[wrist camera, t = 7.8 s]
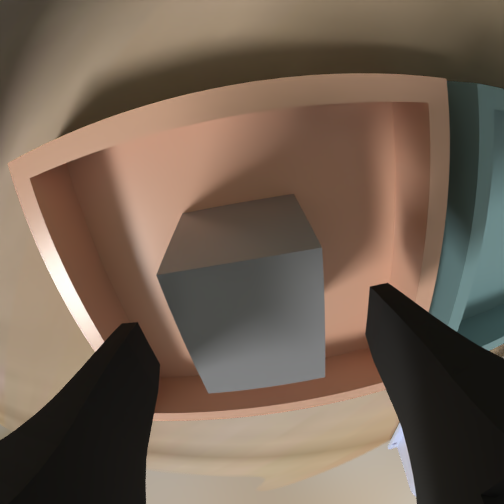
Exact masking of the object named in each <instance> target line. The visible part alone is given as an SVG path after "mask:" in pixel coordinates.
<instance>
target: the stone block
mask: <svg viewBox="0 0 504 504" xmlns="http://www.w3.org/2000/svg"><path fill="white" fill-rule="evenodd" d="M156 276H157V278H158V281H159V284H160V286H161V289H162V291H163V294H164V296H165V299H166V301H167V304H168V306H169V308H170V311H171V313H172V316H173V318H174V320H175V323H176V325H177V327H178V330H179V332H180V334H181V336H182V339H183V341H184V343H185V345H186V348H187V350H188V352H189V354H190V356H191V358H192V361H193V363H194V365H195V367H196V369H197V371H198V373H199V375H200V377H201V379H202V381H203V383H204V385H205V387H206V389H207V391H208V393H221V392H232V391H241V390H249V389H257V388H265V387H272V386H279V385H285V384H291V383H297V382H303V381H308V380H313V379H319V378H324V377H325V301H324V275H323V255H322V246H321V244H320V242H319V241H318V239H317V237H316V235H315V233H314V231H313V229H312V227H311V225H310V223H309V221H308V219H307V217H306V216H305V214H304V212H303V210H302V208H301V206H300V204H299V202H298V201H297V199H296V197H295V195H294V194H288V195H282V196H276V197H270V198H264V199H258V200H252V201H246V202H240V203H235V204H229V205H224V206H218V207H213V208H208V209H202V210H197V211H192V212H187V213H182V215H181V218H180V220H179V222H178V224H177V227H176V229H175V231H174V233H173V236H172V238H171V240H170V243H169V245H168V247H167V250H166V252H165V255H164V257H163V259H162V262H161V264H160V267H159V269H158V272H157V274H156Z"/></svg>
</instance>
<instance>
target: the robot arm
mask: <svg viewBox="0 0 504 504" xmlns="http://www.w3.org/2000/svg"><path fill="white" fill-rule="evenodd" d="M365 336H366V339H367V342H368V345H369V349H370V352H371V355H372V358H373V361H374V363H375V366H376V368H377V370H378V372H379V375H380V377H381V379H382V381H383V384H384V386H385V388H386V390H387V393H388V395H389V397H390V400H391V402H392V404H393V407H394V409H395V411H396V414H397V416H398V419H399V421H400V423H399V425H398V427H397V429H396V431H395V433H394V435H393V437H392V438H391V440H390V442H389V444H388V449H392V448H396V447H397V449H398V451H399V455H400V458H401V461H402V464H403V467H404V470H405V473H406V476H407V480H408V483H409V487H410V489H411V492H412V493H413V494H414V496H416V499H417V504H504V359H503V358H501V357H499V356H497V355H495V354H494V353H492V352H490V351H488V350H486V349H484V348H483V347H481V346H479V345H477V344H476V343H474V342H472V341H471V340H469V339H467V338H466V337H464V336H463V335H461V334H460V333H458V332H456V331H455V330H453V329H452V328H450V327H449V326H447V325H446V324H444V323H443V322H442V321H440V320H439V319H437V318H436V317H434V316H433V315H432V314H430V313H429V312H428V311H426V310H425V309H423V308H422V307H421V306H419V305H418V304H417V303H415V302H414V301H413V300H411V299H410V298H408V297H407V296H406V295H404V294H403V293H402V292H400V291H399V290H398V289H396V288H395V287H393V286H392V285H390V284H389V283H384V284H379V285H375V286H370V289H369V302H368V313H367V323H366V332H365ZM159 375H160V363H159V361H158V359H157V358H156V356H155V354H154V352H153V350H152V348H151V347H150V345H149V343H148V341H147V339H146V337H145V335H144V333H143V331H142V329H141V327H140V325H139V324H138V322H132V323H122V324H121V325H120V326H119V327H118V328H117V329H116V330H115V331H114V332H113V333H112V334H111V335H110V336H109V337H108V338H107V339H106V340H105V342H104V343H103V344H102V345H101V346H100V347H99V348H98V350H97V351H96V352H95V353H94V354H93V355H92V356H91V358H90V359H89V360H88V361H87V362H86V363H85V364H84V366H83V367H82V368H81V369H80V370H79V371H78V372H77V373H76V374H75V376H74V377H73V378H72V379H71V380H70V381H69V382H68V383H67V384H66V385H65V386H64V387H63V389H62V390H61V391H60V392H59V393H58V394H57V395H56V396H55V397H54V398H53V399H52V400H51V401H50V402H49V403H47V404H46V405H45V406H44V407H43V408H42V409H41V410H40V411H39V412H38V413H36V414H35V415H34V416H33V417H31V418H30V419H29V420H28V421H26V422H25V423H24V424H23V425H21V426H20V427H19V428H18V429H16V430H15V431H13V432H12V433H11V434H9V435H8V436H6V437H5V438H4V439H2V440H0V504H146V492H145V479H146V456H147V448H148V442H149V437H150V432H151V426H152V421H153V416H154V411H155V406H156V401H157V396H158V389H159Z"/></svg>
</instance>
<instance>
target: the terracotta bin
mask: <svg viewBox="0 0 504 504" xmlns="http://www.w3.org/2000/svg"><path fill="white" fill-rule="evenodd" d="M449 164H450V125H449V104H448V90H447V80H446V78H438V77H429V76H418V75H403V74H379V73H345V74H321V75H306V76H294V77H284V78H276V79H268V80H260V81H253V82H247V83H240V84H235V85H229V86H223V87H218V88H213V89H208V90H204V91H199V92H195V93H190V94H186V95H182V96H178V97H174V98H170V99H166V100H163V101H159V102H156V103H152V104H149V105H145V106H142V107H139V108H136V109H132V110H129V111H126V112H123V113H120V114H117V115H114V116H112V117H109V118H106V119H103V120H101V121H98V122H95V123H93V124H90V125H87V126H85V127H82V128H80V129H77V130H75V131H73V132H70V133H68V134H66V135H63V136H61V137H59V138H57V139H54V140H52V141H50V142H48V143H46V144H44V145H42V146H39V147H37V148H35V149H33V150H31V151H29V152H27V153H25V154H24V155H22V156H20V157H18V158H16V159H14V160H12V161H10V162H9V163H8V167H9V170H10V173H11V177H12V180H13V183H14V186H15V189H16V192H17V195H18V198H19V201H20V204H21V207H22V210H23V212H24V215H25V218H26V220H27V223H28V225H29V228H30V230H31V233H32V235H33V238H34V240H35V242H36V245H37V247H38V249H39V251H40V254H41V256H42V258H43V260H44V262H45V264H46V267H47V269H48V271H49V273H50V275H51V277H52V279H53V281H54V283H55V285H56V287H57V289H58V291H59V292H60V294H61V296H62V298H63V300H64V302H65V303H66V305H67V307H68V309H69V311H70V312H71V314H72V316H73V318H74V319H75V321H76V323H77V324H78V326H79V328H80V329H81V331H82V333H83V334H84V336H85V337H86V339H87V340H88V342H89V344H90V345H91V347H92V348H93V350H94V351H95V352H96V351H97V350H98V348H99V347H100V346H101V345H102V344H103V343H104V342H105V340H106V339H107V338H108V337H109V336H110V335H111V334H112V333H113V332H114V331H115V330H116V329H117V328H118V327H119V326H120V325H121V324H122V323H132V322H138V324H139V325H140V327H141V329H142V331H143V333H144V335H145V337H146V339H147V341H148V343H149V345H150V347H151V348H152V350H153V352H154V354H155V356H156V358H157V359H158V361H159V363H160V375H159V389H158V396H157V401H156V406H155V411H154V416H153V421H189V420H212V419H227V418H239V417H249V416H258V415H266V414H273V413H280V412H287V411H293V410H299V409H305V408H311V407H316V406H321V405H326V404H331V403H335V402H340V401H344V400H348V399H353V398H357V397H361V396H364V395H368V394H372V393H376V392H379V391H383V390H386V388H385V386H384V384H383V381H382V379H381V377H380V375H379V372H378V370H377V368H376V366H375V363H374V361H373V358H372V355H371V352H370V349H369V345H368V342H367V339H366V336H365V332H366V323H367V313H368V302H369V289H370V286H375V285H379V284H384V283H389V284H390V285H392V286H393V287H395V288H396V289H398V290H399V291H400V292H402V293H403V294H404V295H406V296H407V297H408V298H410V299H411V300H413V301H414V302H415V303H417V304H418V305H419V306H421V307H422V308H423V309H425V310H426V311H428V312H429V309H430V305H431V301H432V296H433V292H434V287H435V282H436V277H437V272H438V267H439V261H440V255H441V249H442V243H443V236H444V228H445V219H446V210H447V199H448V185H449ZM288 194H294V195H295V197H296V199H297V201H298V202H299V204H300V206H301V208H302V210H303V212H304V214H305V216H306V217H307V219H308V221H309V223H310V225H311V227H312V229H313V231H314V233H315V235H316V237H317V239H318V241H319V242H320V244H321V246H322V255H323V275H324V301H325V377H324V378H319V379H313V380H308V381H303V382H297V383H291V384H285V385H279V386H272V387H265V388H257V389H249V390H241V391H232V392H221V393H208V391H207V389H206V387H205V385H204V383H203V381H202V379H201V377H200V375H199V373H198V371H197V369H196V367H195V365H194V363H193V361H192V358H191V356H190V354H189V352H188V350H187V348H186V345H185V343H184V341H183V339H182V336H181V334H180V332H179V330H178V327H177V325H176V323H175V320H174V318H173V316H172V313H171V311H170V308H169V306H168V304H167V301H166V299H165V296H164V294H163V291H162V289H161V286H160V284H159V281H158V278H157V276H156V274H157V272H158V269H159V267H160V264H161V262H162V259H163V257H164V255H165V252H166V250H167V247H168V245H169V243H170V240H171V238H172V236H173V233H174V231H175V229H176V227H177V224H178V222H179V220H180V218H181V215H182V213H187V212H192V211H197V210H202V209H208V208H213V207H218V206H224V205H229V204H235V203H240V202H246V201H252V200H258V199H264V198H270V197H276V196H282V195H288Z"/></svg>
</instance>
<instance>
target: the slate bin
mask: <svg viewBox="0 0 504 504" xmlns="http://www.w3.org/2000/svg"><path fill="white" fill-rule="evenodd" d="M447 90H448V104H449V125H450V164H449V185H448V199H447V210H446V219H445V228H444V236H443V243H442V249H441V255H440V261H439V267H438V272H437V277H436V282H435V287H434V292H433V296H432V301H431V305H430V309H429V313H430V314H432V315H433V316H434V317H436V318H437V319H439V320H440V321H442V322H443V323H444V324H446V325H447V326H449V327H450V328H452V329H453V330H455V331H456V332H458V333H460V334H461V335H463V336H464V337H466V338H467V339H469V340H471V341H472V342H474V343H476V344H477V345H479V346H481V347H483V348H484V349H486V350H488V351H489V350H491V349H493V348H495V347H498V346H500V345H502V344H504V89H502V88H498V87H493V86H489V85H484V84H478V83H469V82H455V81H447Z"/></svg>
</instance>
